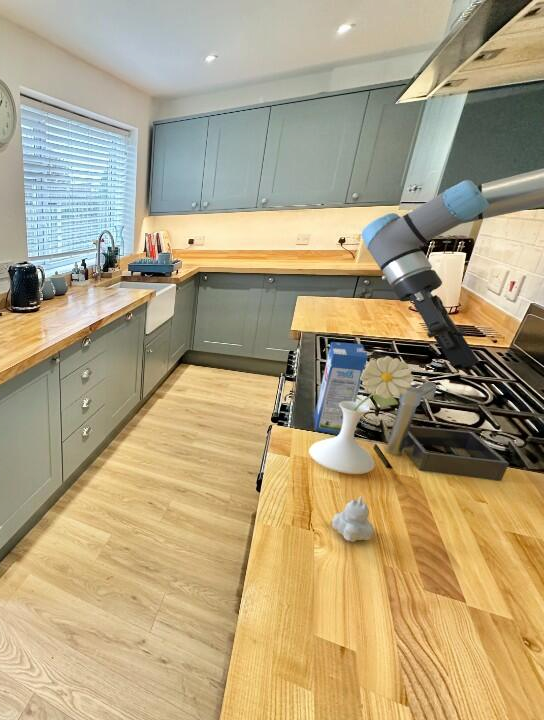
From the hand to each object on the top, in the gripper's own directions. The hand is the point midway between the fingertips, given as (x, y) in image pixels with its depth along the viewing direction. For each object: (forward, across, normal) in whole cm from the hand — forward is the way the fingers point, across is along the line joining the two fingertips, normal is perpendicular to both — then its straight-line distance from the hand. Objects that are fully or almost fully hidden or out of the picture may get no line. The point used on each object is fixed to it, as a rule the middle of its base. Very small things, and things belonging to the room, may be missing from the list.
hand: (466, 364), depth 85 cm
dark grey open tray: (+18, +2, -12) cm, 22 cm away
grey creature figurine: (+24, +38, -21) cm, 49 cm away
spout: (+5, +7, -9) cm, 12 cm away
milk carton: (+4, 0, -28) cm, 28 cm away
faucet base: (+14, +7, -18) cm, 24 cm away
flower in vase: (+13, +16, -24) cm, 32 cm away
